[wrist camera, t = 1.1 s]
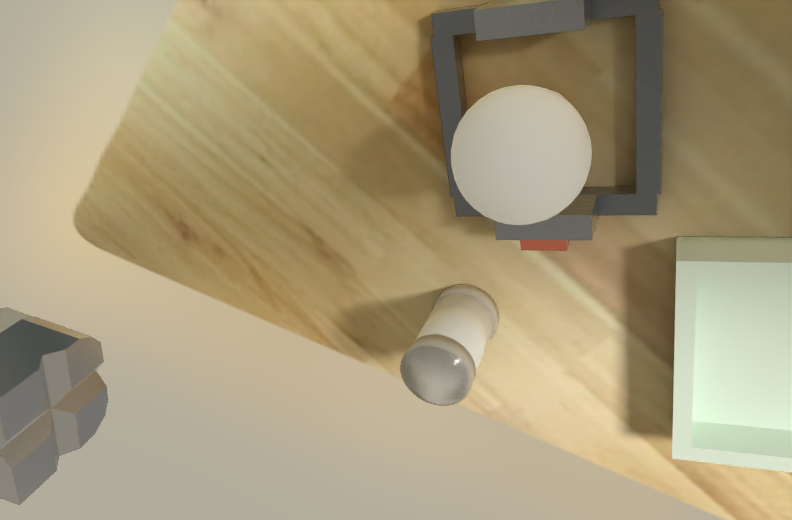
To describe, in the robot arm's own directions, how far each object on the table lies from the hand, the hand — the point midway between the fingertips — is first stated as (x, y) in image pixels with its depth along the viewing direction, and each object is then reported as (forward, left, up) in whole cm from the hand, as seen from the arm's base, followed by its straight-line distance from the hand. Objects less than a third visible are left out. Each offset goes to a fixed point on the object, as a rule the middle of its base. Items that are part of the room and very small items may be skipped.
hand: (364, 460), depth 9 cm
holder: (+3, +3, -31) cm, 31 cm away
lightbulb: (+3, +3, -31) cm, 31 cm away
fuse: (+9, +16, -31) cm, 36 cm away
